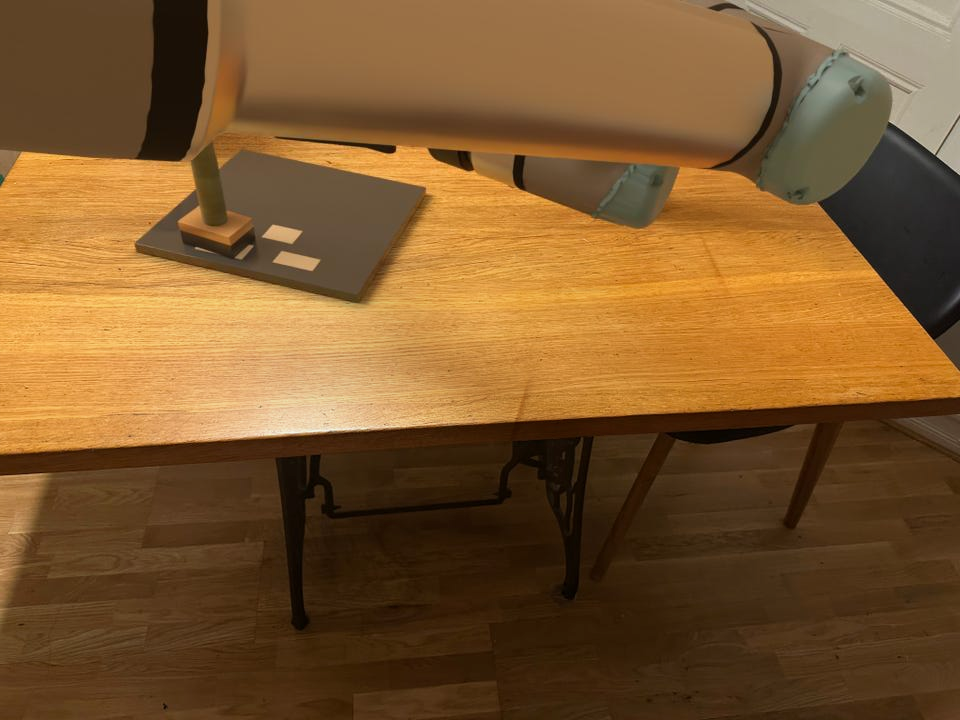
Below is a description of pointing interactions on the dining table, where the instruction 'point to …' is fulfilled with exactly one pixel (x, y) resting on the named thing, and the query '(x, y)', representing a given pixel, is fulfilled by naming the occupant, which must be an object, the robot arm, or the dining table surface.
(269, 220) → the tile
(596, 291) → the dining table surface
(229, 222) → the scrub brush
